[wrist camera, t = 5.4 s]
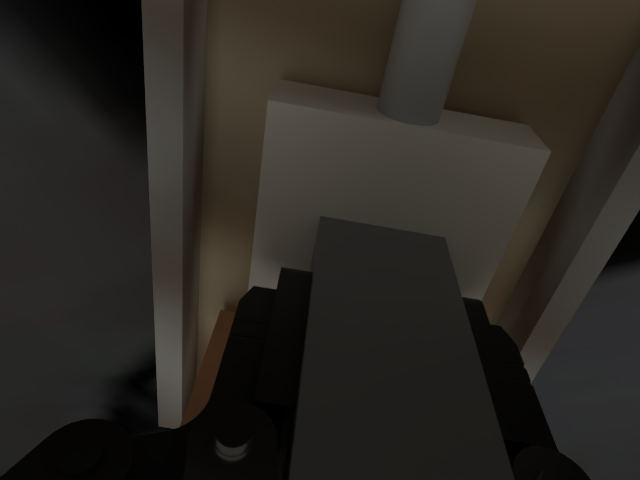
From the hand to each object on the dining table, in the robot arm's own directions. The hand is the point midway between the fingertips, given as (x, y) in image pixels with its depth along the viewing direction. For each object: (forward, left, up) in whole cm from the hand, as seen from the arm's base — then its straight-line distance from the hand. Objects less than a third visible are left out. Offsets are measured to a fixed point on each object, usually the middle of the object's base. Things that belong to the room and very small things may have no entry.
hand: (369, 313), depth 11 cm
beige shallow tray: (+1, 0, -5) cm, 5 cm away
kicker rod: (-2, 0, -3) cm, 4 cm away
